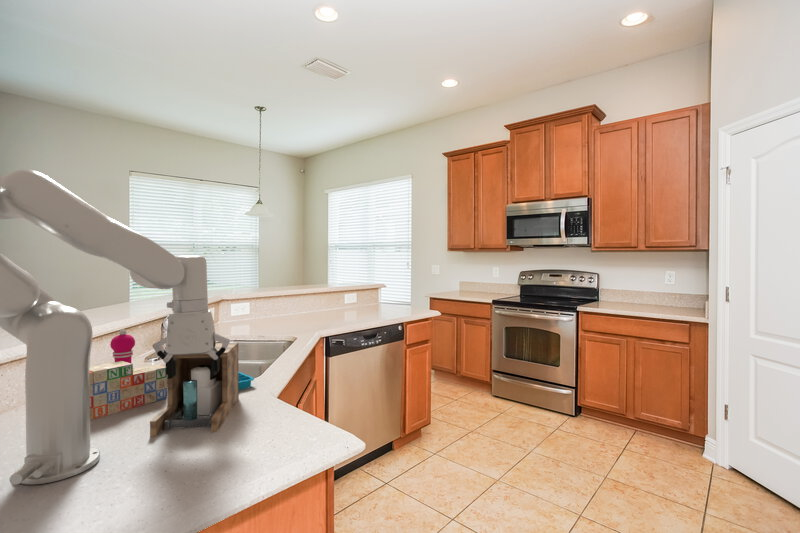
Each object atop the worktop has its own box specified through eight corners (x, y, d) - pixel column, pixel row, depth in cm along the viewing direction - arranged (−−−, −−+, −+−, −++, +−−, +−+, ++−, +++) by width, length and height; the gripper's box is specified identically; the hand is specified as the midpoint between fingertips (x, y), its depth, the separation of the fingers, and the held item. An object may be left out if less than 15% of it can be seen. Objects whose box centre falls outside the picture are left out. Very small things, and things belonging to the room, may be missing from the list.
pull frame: (212, 427, 97) (212, 382, 97) (163, 430, 95) (163, 384, 95) (230, 401, 115) (230, 363, 115) (190, 403, 113) (189, 364, 113)
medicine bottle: (197, 405, 112) (197, 362, 111) (223, 405, 111) (222, 362, 111) (183, 415, 105) (183, 369, 104) (210, 415, 104) (209, 370, 104)
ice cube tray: (227, 375, 142) (227, 366, 142) (255, 388, 128) (255, 378, 128) (193, 382, 133) (193, 373, 133) (219, 397, 119) (219, 387, 119)
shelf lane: (216, 432, 94) (216, 362, 94) (150, 436, 92) (149, 365, 92) (238, 398, 117) (238, 342, 117) (185, 401, 115) (185, 344, 114)
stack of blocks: (156, 394, 121) (156, 353, 120) (167, 398, 117) (167, 356, 117) (68, 418, 103) (68, 370, 103) (78, 423, 99) (78, 374, 99)
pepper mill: (142, 395, 119) (142, 328, 119) (115, 402, 113) (114, 332, 113) (130, 391, 123) (130, 326, 123) (103, 398, 117) (103, 329, 117)
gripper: (144, 310, 92) (147, 383, 93) (224, 307, 95) (226, 378, 96) (158, 305, 99) (161, 373, 100) (232, 302, 102) (234, 369, 103)
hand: (193, 375), depth 98 cm, fingers open, 9 cm apart
